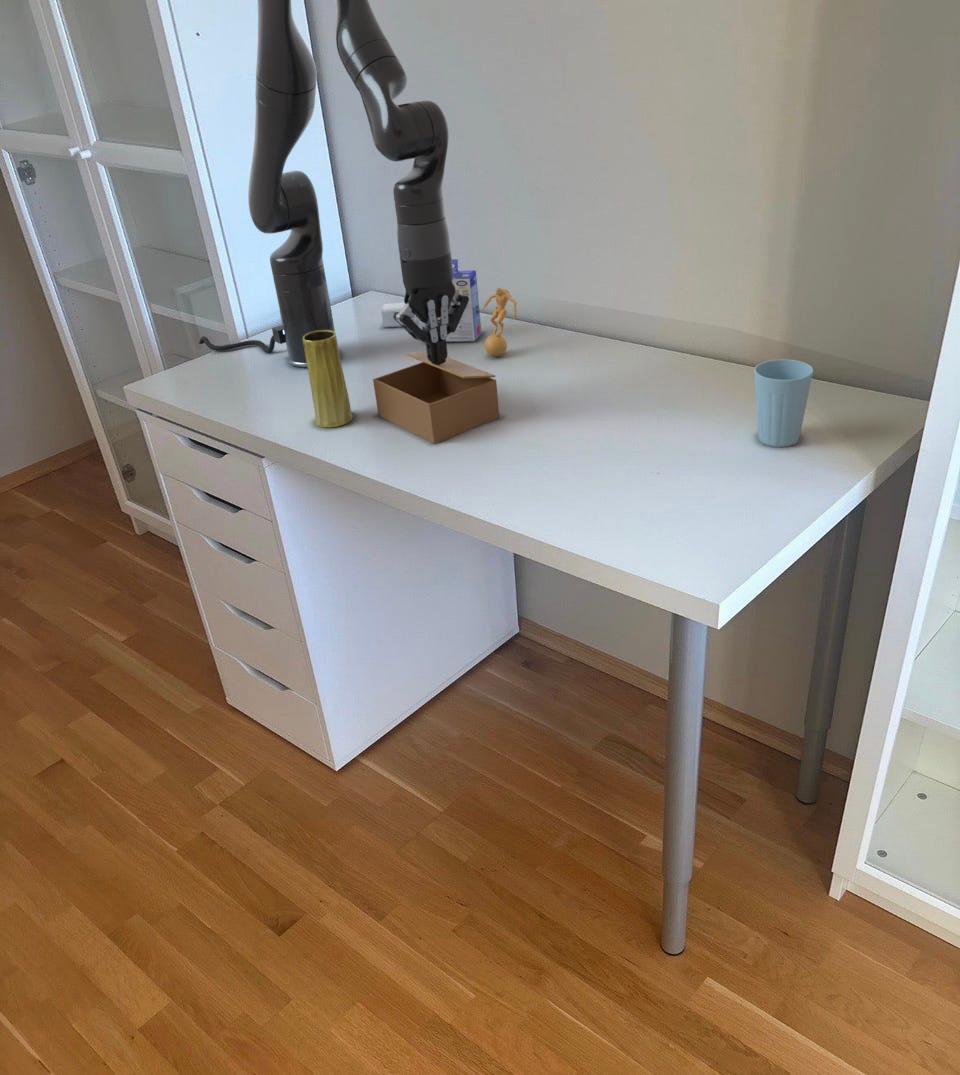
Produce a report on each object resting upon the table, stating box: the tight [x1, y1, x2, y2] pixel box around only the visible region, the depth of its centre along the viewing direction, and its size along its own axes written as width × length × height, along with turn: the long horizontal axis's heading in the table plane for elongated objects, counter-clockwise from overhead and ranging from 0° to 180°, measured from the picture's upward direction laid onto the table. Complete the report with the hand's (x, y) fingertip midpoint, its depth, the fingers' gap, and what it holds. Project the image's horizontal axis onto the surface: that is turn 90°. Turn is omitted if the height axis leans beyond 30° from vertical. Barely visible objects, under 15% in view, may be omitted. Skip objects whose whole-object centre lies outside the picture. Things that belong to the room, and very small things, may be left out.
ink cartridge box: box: [446, 258, 483, 343], centre depth 185 cm, size 10×6×14 cm, turn 79°
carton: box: [372, 361, 500, 445], centre depth 156 cm, size 16×13×6 cm
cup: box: [753, 358, 814, 448], centre depth 137 cm, size 8×8×10 cm
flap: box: [405, 352, 496, 378], centre depth 155 cm, size 16×6×1 cm, turn 38°
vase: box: [303, 330, 354, 428], centre depth 156 cm, size 6×6×14 cm
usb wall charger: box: [381, 302, 417, 329], centre depth 198 cm, size 4×7×4 cm, turn 84°
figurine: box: [481, 287, 517, 358], centre depth 176 cm, size 8×6×12 cm
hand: (438, 362), depth 153 cm, fingers closed
